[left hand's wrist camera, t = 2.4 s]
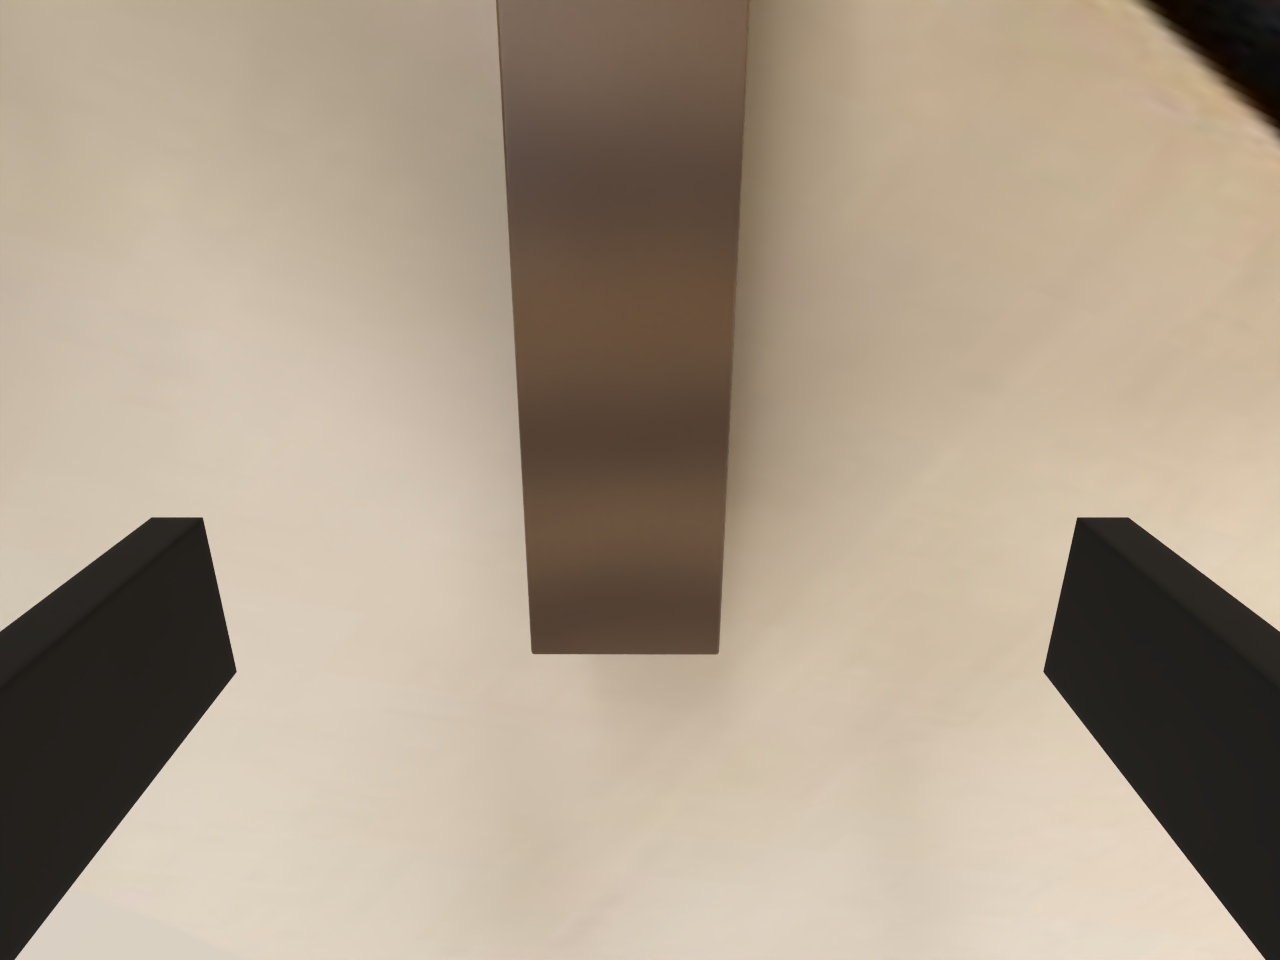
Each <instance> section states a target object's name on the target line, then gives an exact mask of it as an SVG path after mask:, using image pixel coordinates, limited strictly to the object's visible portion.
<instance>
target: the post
mask: <svg viewBox="0 0 1280 960" xmlns="http://www.w3.org/2000/svg"><path fill="white" fill-rule="evenodd" d="M496 8H497V26H498V45H499V63H500V82H501V100H502V118H503V137H504V155H505V173H506V192H507V210H508V229H509V247H510V265H511V284H512V302H513V321H514V339H515V357H516V376H517V394H518V412H519V431H520V449H521V468H522V486H523V504H524V523H525V541H526V560H527V578H528V596H529V615H530V633H531V651H532V653H533V654H718V652H719V640H720V618H721V597H722V576H723V555H724V534H725V513H726V492H727V471H728V450H729V429H730V408H731V387H732V366H733V345H734V324H735V303H736V282H737V260H738V239H739V218H740V197H741V176H742V155H743V134H744V113H745V92H746V71H747V50H748V29H749V8H750V0H496Z"/></svg>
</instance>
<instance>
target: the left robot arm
mask: <svg viewBox="0 0 1280 960" xmlns="http://www.w3.org/2000/svg"><path fill="white" fill-rule="evenodd" d="M236 672H237V671H236V667H235V662H234V658H233V653H232V648H231V644H230V639H229V635H228V630H227V626H226V621H225V617H224V612H223V608H222V603H221V598H220V594H219V589H218V585H217V580H216V576H215V571H214V567H213V562H212V558H211V553H210V548H209V544H208V539H207V535H206V530H205V526H204V521H203V518H150V519H149V520H148V521H146V522H145V523H144V524H142V525H141V526H140V527H139V528H137V529H136V530H135V531H133V532H132V533H131V534H129V535H128V536H127V537H125V538H124V539H123V540H121V541H120V542H119V543H117V544H116V545H115V546H113V547H112V548H111V549H109V550H108V551H107V552H105V553H104V554H103V555H101V556H100V557H99V558H97V559H96V560H95V561H93V562H92V563H91V564H89V565H88V566H87V567H85V568H84V569H83V570H82V571H80V572H79V573H78V574H76V575H75V576H74V577H72V578H71V579H70V580H68V581H67V582H66V583H64V584H63V585H62V586H60V587H59V588H58V589H56V590H55V591H54V592H52V593H51V594H50V595H48V596H47V597H46V598H44V599H43V600H42V601H40V602H39V603H38V604H36V605H35V606H34V607H32V608H31V609H30V610H29V611H27V612H26V613H25V614H23V615H22V616H21V617H19V618H18V619H17V620H15V621H14V622H13V623H11V624H10V625H9V626H7V627H6V628H5V629H3V630H2V631H1V632H0V960H15V958H16V957H17V956H18V954H19V953H20V952H21V951H22V949H23V948H24V947H25V945H26V944H27V943H28V941H29V940H30V939H31V938H32V936H33V935H34V934H35V932H36V931H37V930H38V928H39V927H40V926H41V925H42V923H43V922H44V921H45V919H46V918H47V917H48V916H49V914H50V913H51V912H52V910H53V909H54V908H55V906H56V905H57V904H58V902H59V901H60V900H61V899H62V897H63V896H64V895H65V894H66V892H67V891H68V890H69V888H70V887H71V886H72V884H73V883H74V882H75V881H76V879H77V878H78V877H79V875H80V874H81V873H82V871H83V870H84V869H85V868H86V866H87V865H88V864H89V862H90V861H91V860H92V859H93V857H94V856H95V855H96V853H97V852H98V851H99V849H100V848H101V847H102V846H103V844H104V843H105V842H106V840H107V839H108V838H109V836H110V835H111V834H112V833H113V831H114V830H115V829H116V827H117V826H118V825H119V824H120V822H121V821H122V820H123V818H124V817H125V816H126V814H127V813H128V812H129V811H130V809H131V808H132V807H133V805H134V804H135V803H136V802H137V800H138V799H139V798H140V796H141V795H142V794H143V792H144V791H145V790H146V789H147V787H148V786H149V785H150V783H151V782H152V781H153V779H154V778H155V777H156V776H157V774H158V773H159V772H160V770H161V769H162V768H163V767H164V765H165V764H166V763H167V761H168V760H169V759H170V757H171V756H172V755H173V754H174V752H175V751H176V750H177V748H178V747H179V746H180V745H181V743H182V742H183V741H184V739H185V738H186V737H187V735H188V734H189V733H190V732H191V730H192V729H193V728H194V726H195V725H196V724H197V722H198V721H199V720H200V719H201V717H202V716H203V715H204V713H205V712H206V711H207V710H208V708H209V707H210V706H211V704H212V703H213V702H214V700H215V699H216V698H217V697H218V695H219V694H220V693H221V691H222V690H223V689H224V687H225V686H226V685H227V684H228V682H229V681H230V680H231V678H232V677H233V676H234V675H235V673H236ZM1043 672H1044V673H1045V675H1046V676H1047V677H1048V678H1049V680H1050V681H1051V682H1052V684H1053V685H1054V686H1055V687H1056V689H1057V690H1058V691H1059V693H1060V694H1061V695H1062V697H1063V698H1064V699H1065V700H1066V702H1067V703H1068V704H1069V706H1070V707H1071V708H1072V710H1073V711H1074V712H1075V713H1076V715H1077V716H1078V717H1079V719H1080V720H1081V721H1082V722H1083V724H1084V725H1085V726H1086V728H1087V729H1088V730H1089V732H1090V733H1091V734H1092V735H1093V737H1094V738H1095V739H1096V741H1097V742H1098V743H1099V745H1100V746H1101V747H1102V748H1103V750H1104V751H1105V752H1106V754H1107V755H1108V756H1109V757H1110V759H1111V760H1112V761H1113V763H1114V764H1115V765H1116V767H1117V768H1118V769H1119V770H1120V772H1121V773H1122V774H1123V776H1124V777H1125V778H1126V779H1127V781H1128V782H1129V783H1130V785H1131V786H1132V787H1133V789H1134V790H1135V791H1136V792H1137V794H1138V795H1139V796H1140V798H1141V799H1142V800H1143V802H1144V803H1145V804H1146V805H1147V807H1148V808H1149V809H1150V811H1151V812H1152V813H1153V814H1154V816H1155V817H1156V818H1157V820H1158V821H1159V822H1160V824H1161V825H1162V826H1163V827H1164V829H1165V830H1166V831H1167V833H1168V834H1169V835H1170V836H1171V838H1172V839H1173V840H1174V842H1175V843H1176V844H1177V846H1178V847H1179V848H1180V849H1181V851H1182V852H1183V853H1184V855H1185V856H1186V857H1187V859H1188V860H1189V861H1190V862H1191V864H1192V865H1193V866H1194V868H1195V869H1196V870H1197V871H1198V873H1199V874H1200V875H1201V877H1202V878H1203V879H1204V881H1205V882H1206V883H1207V884H1208V886H1209V887H1210V888H1211V890H1212V891H1213V892H1214V894H1215V895H1216V896H1217V897H1218V899H1219V900H1220V901H1221V903H1222V904H1223V905H1224V906H1225V908H1226V909H1227V910H1228V912H1229V913H1230V914H1231V916H1232V917H1233V918H1234V919H1235V921H1236V922H1237V923H1238V925H1239V926H1240V927H1241V928H1242V930H1243V931H1244V932H1245V934H1246V935H1247V936H1248V938H1249V939H1250V940H1251V941H1252V943H1253V944H1254V945H1255V947H1256V948H1257V949H1258V951H1259V952H1260V953H1261V954H1262V956H1263V957H1264V958H1265V960H1280V632H1279V631H1278V630H1277V629H1275V628H1274V627H1273V626H1271V625H1270V624H1269V623H1267V622H1266V621H1265V620H1263V619H1262V618H1261V617H1259V616H1258V615H1257V614H1255V613H1254V612H1253V611H1251V610H1250V609H1249V608H1248V607H1246V606H1245V605H1244V604H1242V603H1241V602H1240V601H1238V600H1237V599H1236V598H1234V597H1233V596H1232V595H1230V594H1229V593H1228V592H1226V591H1225V590H1224V589H1222V588H1221V587H1220V586H1218V585H1217V584H1216V583H1214V582H1213V581H1212V580H1210V579H1209V578H1208V577H1206V576H1205V575H1204V574H1202V573H1201V572H1200V571H1198V570H1197V569H1196V568H1195V567H1193V566H1192V565H1191V564H1189V563H1188V562H1187V561H1185V560H1184V559H1183V558H1181V557H1180V556H1179V555H1177V554H1176V553H1175V552H1173V551H1172V550H1171V549H1169V548H1168V547H1167V546H1165V545H1164V544H1163V543H1161V542H1160V541H1159V540H1157V539H1156V538H1155V537H1153V536H1152V535H1151V534H1149V533H1148V532H1147V531H1145V530H1144V529H1143V528H1141V527H1140V526H1139V525H1138V524H1136V523H1135V522H1134V521H1132V520H1131V519H1130V518H1077V521H1076V526H1075V530H1074V535H1073V539H1072V544H1071V548H1070V553H1069V558H1068V562H1067V567H1066V571H1065V576H1064V580H1063V585H1062V589H1061V594H1060V598H1059V603H1058V608H1057V612H1056V617H1055V621H1054V626H1053V630H1052V635H1051V639H1050V644H1049V648H1048V653H1047V658H1046V662H1045V667H1044V671H1043Z"/></svg>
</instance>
